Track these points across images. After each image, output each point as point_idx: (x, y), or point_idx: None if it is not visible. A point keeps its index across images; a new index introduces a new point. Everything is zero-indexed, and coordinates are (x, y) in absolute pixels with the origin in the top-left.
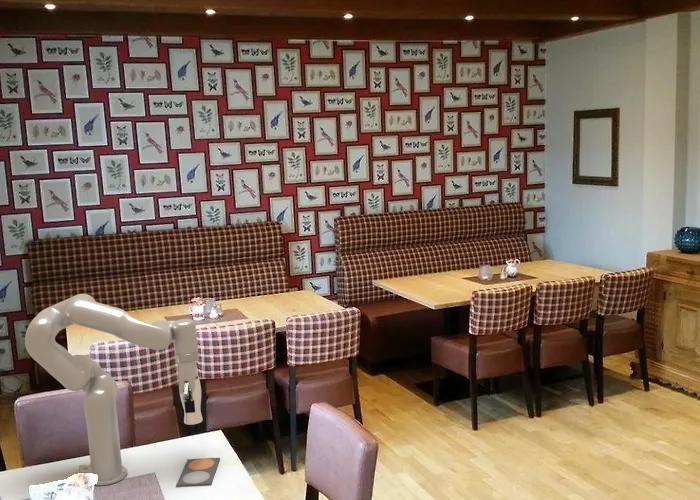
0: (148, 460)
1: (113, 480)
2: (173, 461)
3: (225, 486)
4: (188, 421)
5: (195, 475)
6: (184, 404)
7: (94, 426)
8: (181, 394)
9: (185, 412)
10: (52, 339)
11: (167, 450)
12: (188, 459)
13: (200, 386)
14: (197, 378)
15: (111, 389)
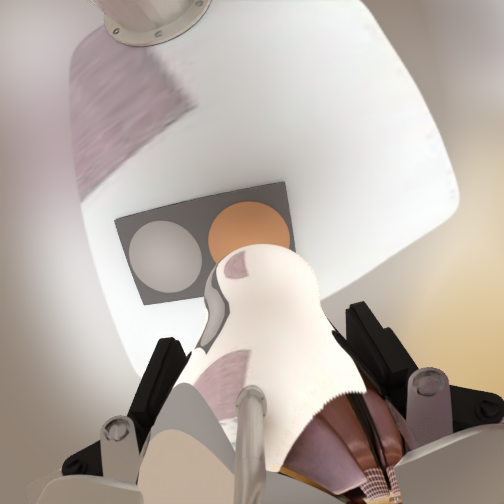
0: (275, 53)
1: (114, 38)
2: (275, 134)
3: (150, 333)
4: (205, 298)
5: (173, 252)
6: (138, 388)
7: None
8: (145, 450)
9: (159, 339)
10: None
11: (353, 89)
12: (281, 186)
13: None
14: None
15: None
